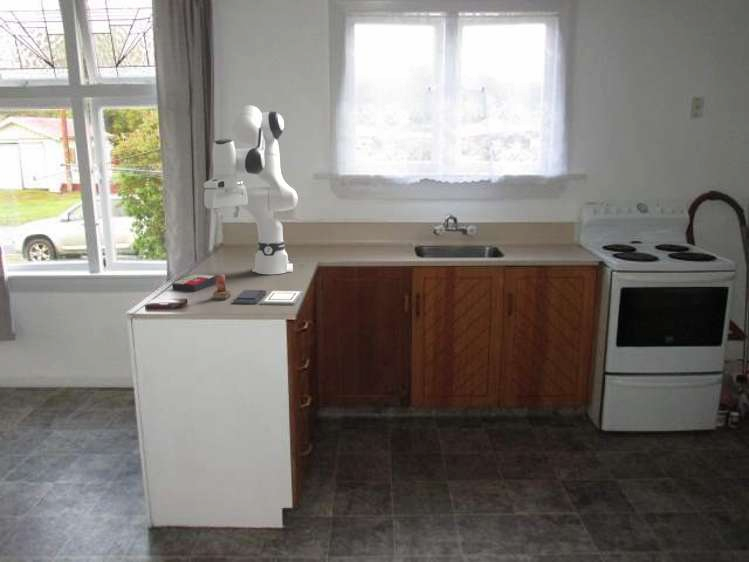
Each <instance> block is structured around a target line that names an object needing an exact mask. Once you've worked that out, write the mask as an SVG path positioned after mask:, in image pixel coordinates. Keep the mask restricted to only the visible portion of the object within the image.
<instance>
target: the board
mask: <svg viewBox="0 0 749 562" xmlns="http://www.w3.org/2000/svg"><path fill="white" fill-rule="evenodd" d="M303 294H304V290H270V291H269V292H268V294H266V295H265V296H264V297H263V298H262V299H261V300H260V301H259V303H260V305H264V306H265V305H268V306H271V305H273V306H274V305H275V306H280V305H281V306H282V305H283V306H286V305H287V306H295V305H296V304H297V302H298V301H299V299H300V298H301V297H302V296H303Z"/></svg>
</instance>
